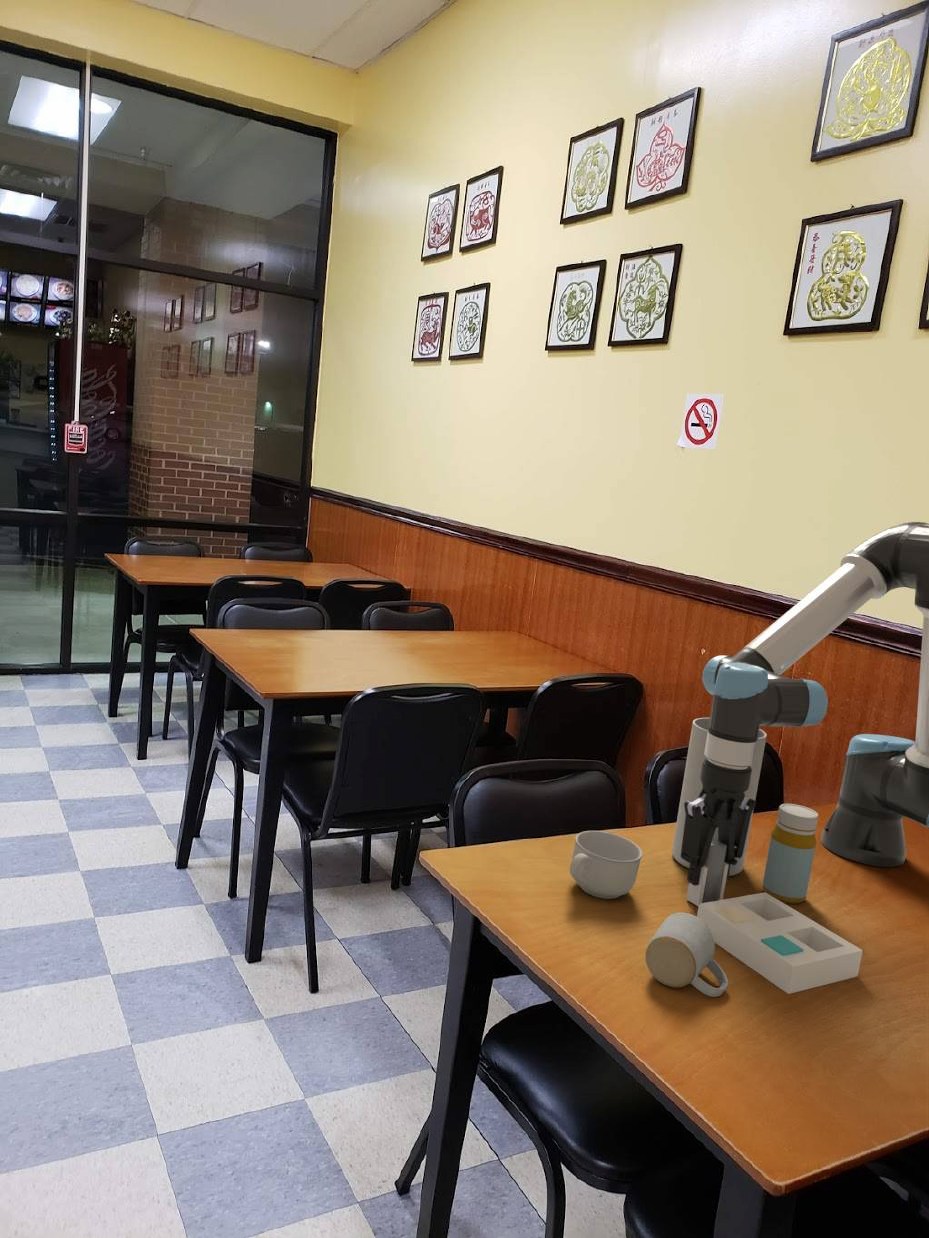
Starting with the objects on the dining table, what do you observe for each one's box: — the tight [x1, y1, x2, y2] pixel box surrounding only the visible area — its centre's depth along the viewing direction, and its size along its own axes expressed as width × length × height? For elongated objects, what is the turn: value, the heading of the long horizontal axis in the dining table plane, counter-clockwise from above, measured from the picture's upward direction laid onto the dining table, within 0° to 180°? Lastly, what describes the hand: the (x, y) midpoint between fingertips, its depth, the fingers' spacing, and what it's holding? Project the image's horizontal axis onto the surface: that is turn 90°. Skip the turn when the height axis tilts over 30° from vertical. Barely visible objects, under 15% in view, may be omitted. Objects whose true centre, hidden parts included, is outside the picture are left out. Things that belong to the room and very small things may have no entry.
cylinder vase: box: [671, 717, 768, 877], centre depth 160 cm, size 12×12×25 cm
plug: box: [702, 839, 727, 903], centre depth 145 cm, size 4×4×10 cm
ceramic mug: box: [645, 911, 729, 998], centre depth 121 cm, size 11×8×8 cm
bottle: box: [761, 803, 819, 905], centre depth 151 cm, size 7×7×15 cm
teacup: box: [569, 830, 643, 900], centre depth 145 cm, size 14×11×8 cm
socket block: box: [696, 891, 864, 995], centre depth 132 cm, size 14×18×4 cm
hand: (704, 900), depth 146 cm, fingers closed on plug, 4 cm apart
